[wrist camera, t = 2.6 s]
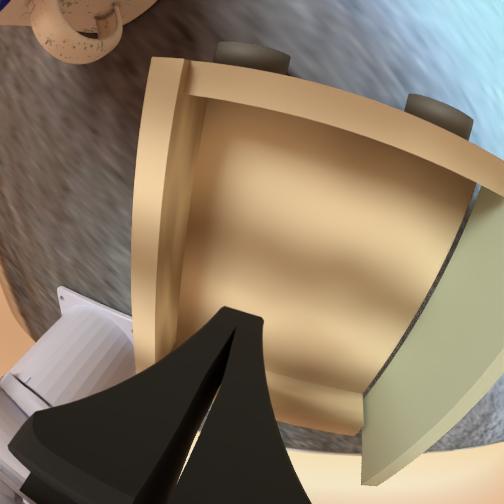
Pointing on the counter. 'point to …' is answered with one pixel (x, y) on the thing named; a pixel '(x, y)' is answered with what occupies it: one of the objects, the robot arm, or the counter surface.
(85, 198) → the counter surface
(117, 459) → the robot arm
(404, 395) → the panel
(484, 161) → the cart bed
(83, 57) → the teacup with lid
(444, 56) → the counter surface
